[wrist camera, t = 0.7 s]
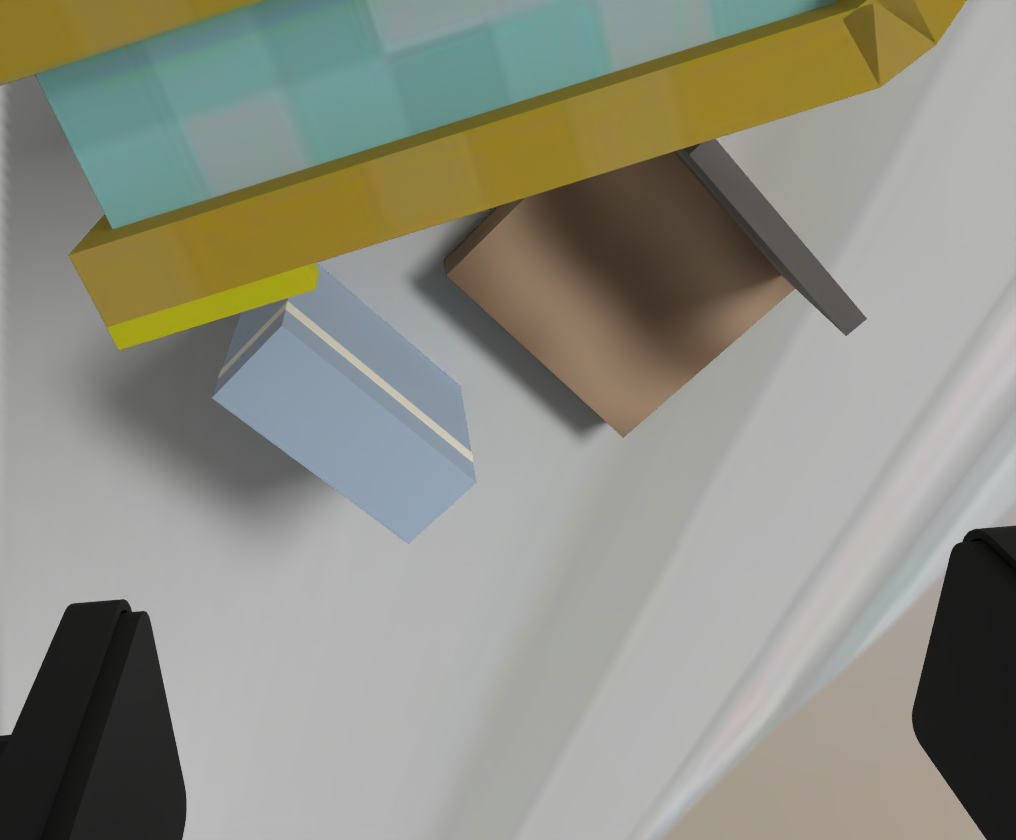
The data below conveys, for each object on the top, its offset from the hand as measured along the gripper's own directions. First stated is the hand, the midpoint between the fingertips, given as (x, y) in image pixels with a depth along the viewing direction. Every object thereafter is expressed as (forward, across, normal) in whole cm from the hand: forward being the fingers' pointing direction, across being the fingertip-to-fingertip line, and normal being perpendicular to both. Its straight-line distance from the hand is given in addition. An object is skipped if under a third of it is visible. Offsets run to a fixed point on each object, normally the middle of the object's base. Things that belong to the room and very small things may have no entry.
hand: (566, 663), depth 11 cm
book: (+34, -1, -7) cm, 34 cm away
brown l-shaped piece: (+34, -10, +6) cm, 36 cm away
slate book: (+34, +3, +10) cm, 36 cm away
